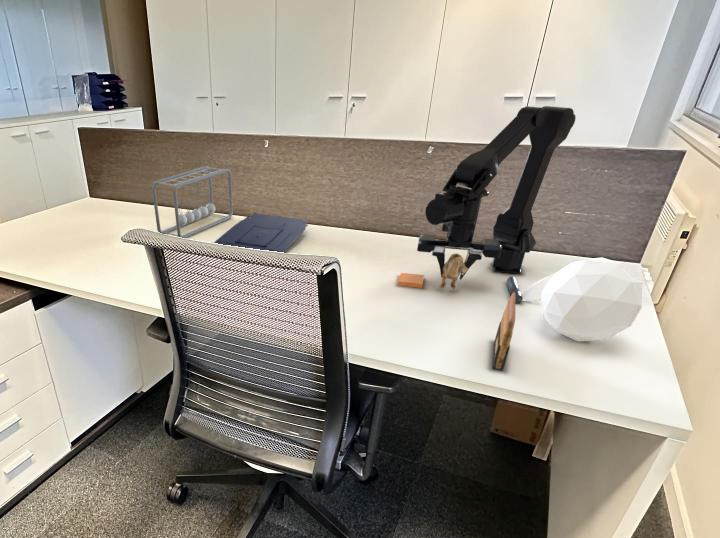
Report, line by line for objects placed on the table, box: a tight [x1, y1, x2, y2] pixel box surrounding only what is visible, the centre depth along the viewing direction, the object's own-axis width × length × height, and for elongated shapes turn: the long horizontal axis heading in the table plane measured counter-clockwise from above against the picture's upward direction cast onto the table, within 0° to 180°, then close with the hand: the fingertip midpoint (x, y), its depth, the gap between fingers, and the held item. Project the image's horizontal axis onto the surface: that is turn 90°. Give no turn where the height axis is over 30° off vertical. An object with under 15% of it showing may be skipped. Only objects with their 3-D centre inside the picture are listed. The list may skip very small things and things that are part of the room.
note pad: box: [397, 272, 425, 289], centre depth 128 cm, size 6×6×1 cm
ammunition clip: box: [491, 293, 516, 371], centre depth 94 cm, size 11×2×12 cm, turn 155°
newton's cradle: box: [151, 165, 234, 239], centre depth 170 cm, size 30×10×18 cm, turn 144°
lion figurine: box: [439, 252, 469, 290], centre depth 123 cm, size 15×5×9 cm, turn 163°
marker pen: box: [506, 276, 523, 304], centre depth 120 cm, size 2×13×2 cm
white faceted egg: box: [521, 257, 643, 342], centre depth 104 cm, size 16×22×28 cm
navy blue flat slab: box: [213, 212, 310, 253], centre depth 158 cm, size 24×30×4 cm
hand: (451, 277), depth 124 cm, fingers closed on lion figurine, 4 cm apart
